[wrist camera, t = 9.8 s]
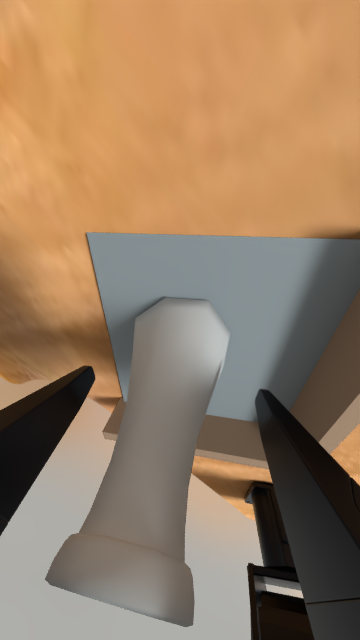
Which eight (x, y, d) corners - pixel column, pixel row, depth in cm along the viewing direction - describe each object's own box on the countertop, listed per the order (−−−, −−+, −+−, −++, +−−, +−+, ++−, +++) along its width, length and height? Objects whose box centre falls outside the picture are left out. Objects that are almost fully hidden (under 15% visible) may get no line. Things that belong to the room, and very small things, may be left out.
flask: (121, 307, 12) (-142, 525, 3) (220, 282, 10) (363, 694, 1) (156, 377, 14) (81, 591, 6) (237, 368, 13) (310, 664, 4)
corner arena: (288, 430, 16) (308, 476, 13) (122, 404, 18) (105, 438, 15) (415, 226, 8) (557, 219, 5) (79, 221, 10) (20, 213, 7)
